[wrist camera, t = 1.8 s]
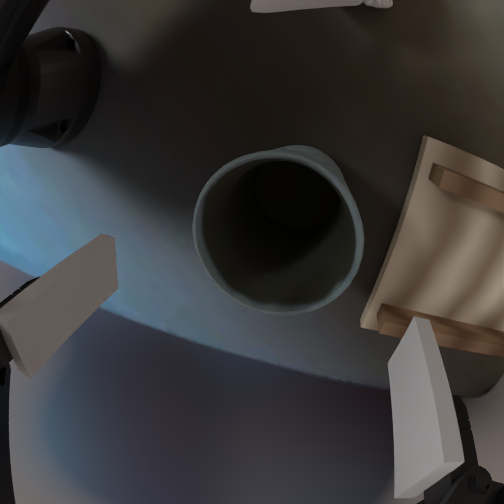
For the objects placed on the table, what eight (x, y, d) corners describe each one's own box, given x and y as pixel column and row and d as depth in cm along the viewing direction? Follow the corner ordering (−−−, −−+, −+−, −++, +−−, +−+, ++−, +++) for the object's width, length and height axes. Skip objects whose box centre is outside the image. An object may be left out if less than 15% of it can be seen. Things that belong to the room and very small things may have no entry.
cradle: (360, 318, 32) (362, 346, 29) (423, 134, 23) (439, 140, 19) (494, 346, 30) (504, 370, 26) (564, 204, 20) (586, 218, 16)
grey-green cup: (323, 256, 30) (315, 338, 20) (228, 214, 31) (174, 275, 20) (370, 163, 25) (397, 203, 15) (264, 116, 26) (219, 124, 15)
